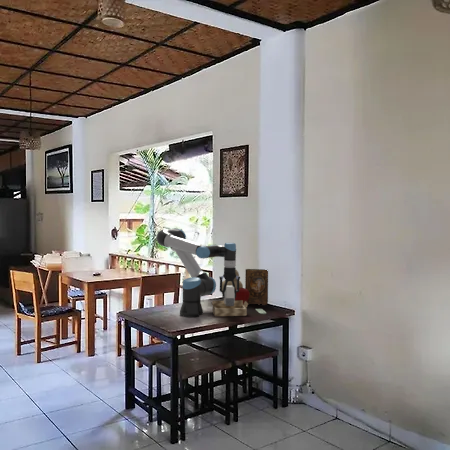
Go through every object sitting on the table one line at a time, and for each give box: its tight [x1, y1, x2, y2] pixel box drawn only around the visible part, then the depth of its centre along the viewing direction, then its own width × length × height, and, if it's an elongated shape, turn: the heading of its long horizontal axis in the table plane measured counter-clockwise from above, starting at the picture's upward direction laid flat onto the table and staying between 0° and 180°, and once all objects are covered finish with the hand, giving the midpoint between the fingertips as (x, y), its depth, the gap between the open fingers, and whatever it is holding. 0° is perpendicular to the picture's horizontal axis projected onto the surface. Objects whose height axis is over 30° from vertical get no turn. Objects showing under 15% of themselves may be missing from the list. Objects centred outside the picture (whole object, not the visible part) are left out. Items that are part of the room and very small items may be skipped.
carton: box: [210, 300, 249, 317], centre depth 314 cm, size 23×13×8 cm, turn 99°
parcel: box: [224, 285, 234, 306], centre depth 313 cm, size 5×7×12 cm
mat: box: [255, 308, 267, 315], centre depth 325 cm, size 12×12×1 cm
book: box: [244, 268, 269, 306], centre depth 352 cm, size 16×6×25 cm, turn 84°
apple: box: [235, 287, 250, 305], centre depth 346 cm, size 12×12×13 cm
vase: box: [222, 269, 244, 290], centre depth 362 cm, size 17×17×30 cm
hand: (229, 302), depth 314 cm, fingers closed on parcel, 5 cm apart
